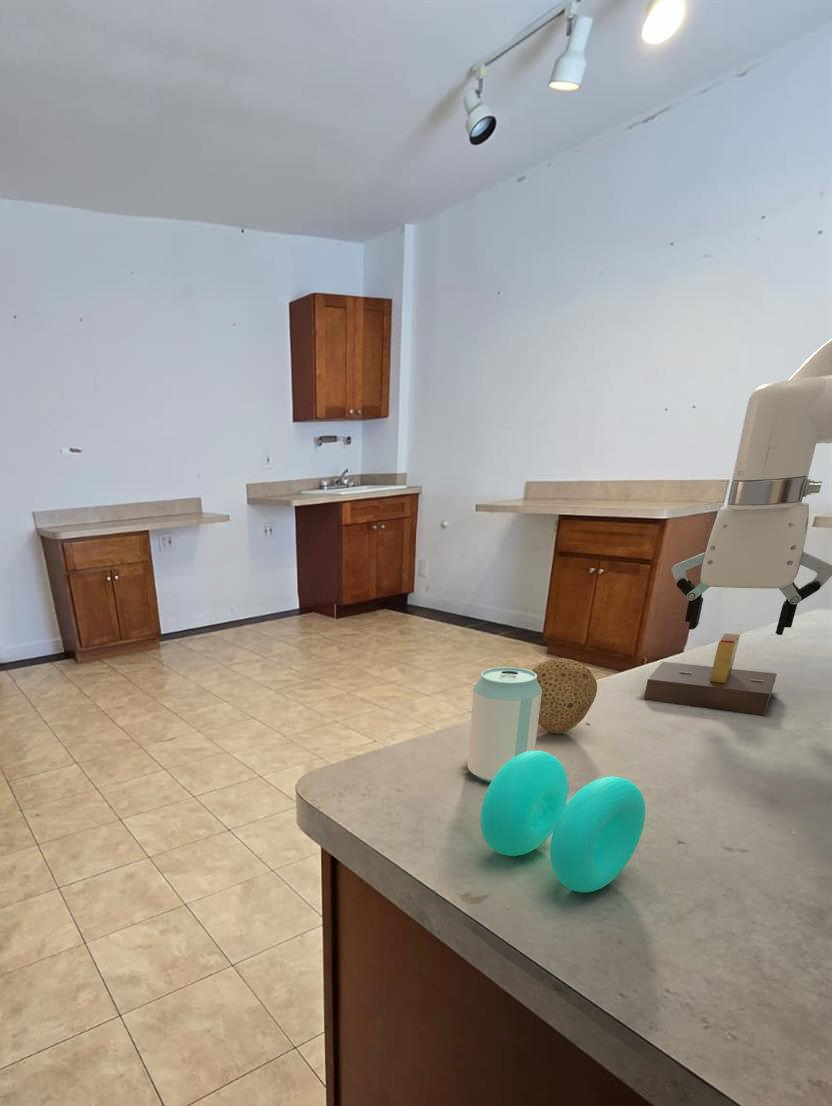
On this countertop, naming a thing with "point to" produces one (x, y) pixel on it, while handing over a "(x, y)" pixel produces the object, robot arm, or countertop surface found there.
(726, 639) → the thumbturn
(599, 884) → the donuts
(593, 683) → the natural sponge
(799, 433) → the robot arm
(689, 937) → the countertop surface
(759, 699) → the plate
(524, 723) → the can
